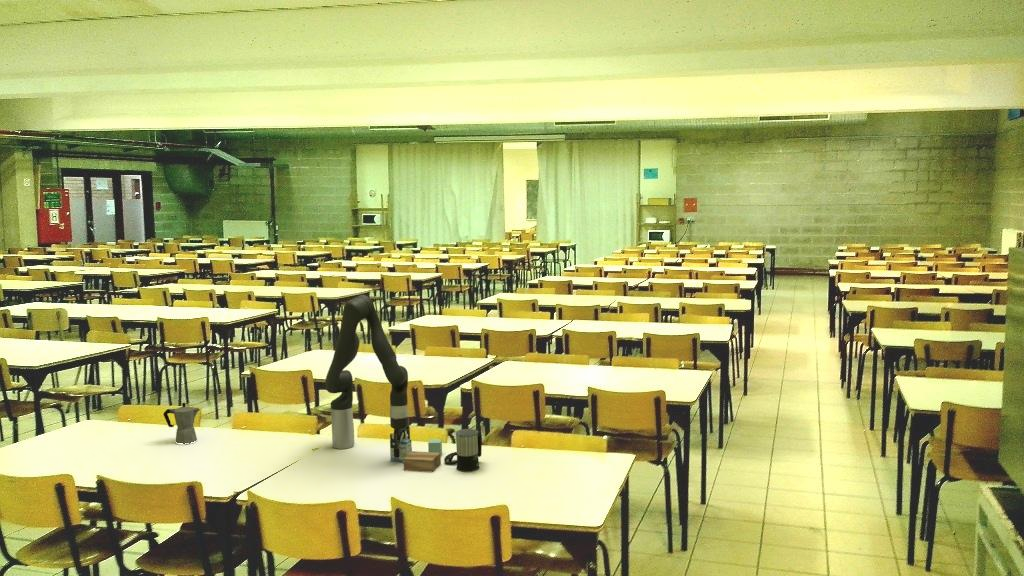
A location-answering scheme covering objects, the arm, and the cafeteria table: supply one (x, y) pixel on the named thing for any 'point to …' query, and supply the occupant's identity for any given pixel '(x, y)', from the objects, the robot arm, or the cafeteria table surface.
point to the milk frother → (466, 450)
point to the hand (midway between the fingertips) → (400, 454)
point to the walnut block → (422, 461)
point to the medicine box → (401, 450)
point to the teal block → (435, 445)
